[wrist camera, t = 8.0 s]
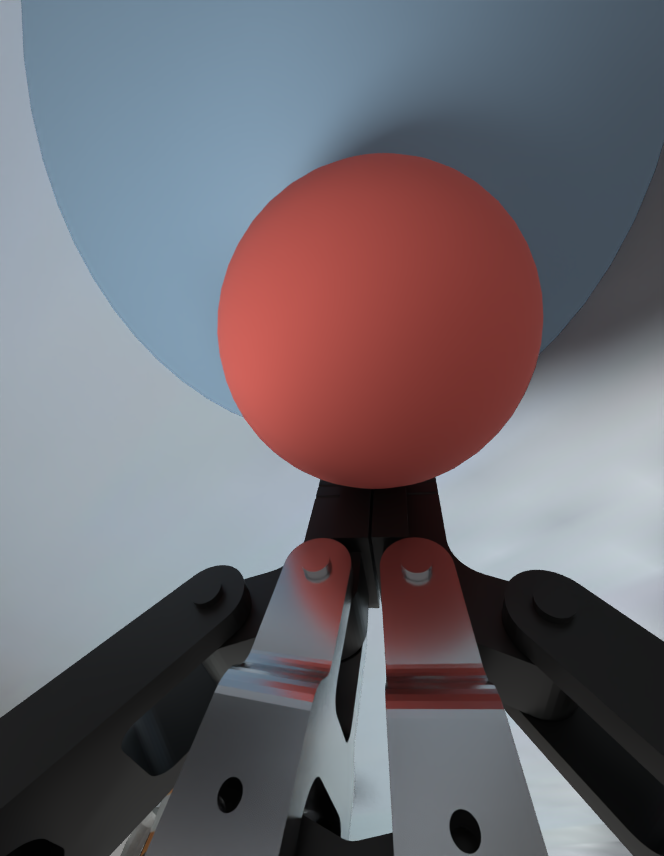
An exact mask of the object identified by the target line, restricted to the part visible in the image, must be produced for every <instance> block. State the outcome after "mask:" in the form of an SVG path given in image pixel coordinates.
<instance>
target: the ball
mask: <svg viewBox="0 0 664 856" xmlns="http://www.w3.org/2000/svg"><path fill="white" fill-rule="evenodd" d="M542 329H543V302H542V291H541V286H540V281H539V277H538V272H537V267H536V265H535V262H534V260H533V257H532V254H531V252H530V249H529V246H528V244H527V242H526V240H525V238H524V237H523V235H522V233H521V231H520V230H519V228H518V226H517V224H516V223H515V221H514V220H513V218H512V217H511V216H510V215H509V214H508V212H507V211H506V210H505V209H504V207H503V206H502V205H501V204H500V203H499V201H498V200H497V199H495V198H494V197H493V196H492V195H491V194H490V193H489V192H487V191H486V190H485V189H484V188H483V187H482V186H480V185H479V184H478V183H477V182H475V181H474V180H472V179H470V178H469V177H467V176H465V175H464V174H462V173H460V172H459V171H457V170H455V169H453V168H451V167H449V166H446V165H443V164H441V163H438V162H435V161H432V160H430V159H427V158H423V157H418V156H411V155H403V154H395V153H373V154H364V155H358V156H353V157H349V158H345V159H342V160H339V161H336V162H333V163H330V164H327V165H324V166H321V167H319V168H317V169H315V170H313V171H311V172H310V173H308V174H306V175H304V176H303V177H301V178H299V179H298V180H296V181H294V182H293V183H291V184H290V185H289V186H287V187H286V188H285V189H284V190H283V191H281V192H280V193H279V194H278V195H277V196H275V197H274V198H273V199H272V200H271V201H270V202H269V203H268V204H267V205H266V206H265V207H264V208H263V210H262V211H261V212H260V213H259V214H258V215H257V216H256V218H255V219H254V220H253V221H252V223H251V224H250V226H249V227H248V229H247V231H246V232H245V234H244V235H243V237H242V238H241V240H240V241H239V243H238V245H237V247H236V249H235V252H234V254H233V256H232V258H231V260H230V263H229V265H228V268H227V271H226V275H225V278H224V281H223V285H222V288H221V294H220V301H219V307H218V327H217V335H218V344H219V353H220V358H221V362H222V366H223V370H224V374H225V378H226V382H227V384H228V387H229V389H230V392H231V394H232V397H233V399H234V401H235V403H236V405H237V407H238V408H239V410H240V412H241V414H242V415H243V417H244V419H245V420H246V421H247V422H248V424H249V425H250V426H251V428H252V429H253V430H254V432H255V433H256V434H257V435H258V437H259V438H260V439H261V440H262V441H263V442H264V443H265V444H266V445H267V446H268V447H269V448H270V449H271V450H272V451H273V452H275V453H276V454H277V455H279V456H280V457H281V458H283V459H284V460H285V461H287V462H288V463H290V464H291V465H293V466H294V467H296V468H298V469H299V470H301V471H303V472H305V473H308V474H310V475H312V476H314V477H317V478H319V479H321V480H324V481H327V482H330V483H334V484H338V485H343V486H349V487H355V488H365V489H385V488H394V487H401V486H407V485H412V484H416V483H420V482H423V481H426V480H429V479H432V478H434V477H436V476H439V475H441V474H443V473H445V472H447V471H449V470H452V469H454V468H455V467H457V466H458V465H460V464H461V463H463V462H464V461H466V460H467V459H469V458H470V457H472V456H473V455H475V454H476V453H478V452H479V451H480V450H481V449H482V448H483V447H484V446H485V445H486V444H487V443H488V442H489V441H490V440H492V439H493V438H494V437H495V436H496V435H497V434H498V433H499V431H500V430H501V429H502V428H503V426H504V425H505V424H506V423H507V421H508V420H509V419H510V418H511V416H512V415H513V413H514V411H515V410H516V408H517V406H518V404H519V403H520V401H521V399H522V398H523V396H524V394H525V392H526V390H527V387H528V385H529V382H530V380H531V377H532V375H533V372H534V370H535V367H536V363H537V359H538V355H539V351H540V347H541V340H542Z"/></svg>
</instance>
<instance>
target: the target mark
mask: <svg viewBox="0 0 664 856" xmlns="http://www.w3.org/2000/svg"><path fill="white" fill-rule="evenodd" d="M21 4H22V27H23V49H24V61H25V68H26V76H27V83H28V90H29V97H30V104H31V111H32V115H33V120H34V124H35V128H36V133H37V137H38V141H39V145H40V150H41V154H42V158H43V162H44V165H45V168H46V171H47V174H48V177H49V180H50V183H51V186H52V189H53V192H54V195H55V198H56V201H57V204H58V206H59V209H60V211H61V213H62V216H63V218H64V220H65V223H66V225H67V227H68V230H69V232H70V234H71V237H72V239H73V241H74V244H75V245H76V247H77V249H78V251H79V253H80V255H81V257H82V258H83V260H84V262H85V264H86V266H87V268H88V270H89V271H90V273H91V275H92V277H93V279H94V280H95V282H96V283H97V285H98V286H99V288H100V289H101V291H102V292H103V294H104V296H105V297H106V299H107V300H108V302H109V303H110V305H111V306H112V308H113V309H114V311H115V312H116V313H117V314H118V316H119V317H120V318H121V319H122V321H123V322H124V323H125V324H126V326H127V327H128V328H129V329H130V331H131V332H132V333H133V334H134V336H135V337H136V338H137V339H138V340H139V341H140V342H141V343H142V344H143V345H144V346H145V347H146V348H147V349H148V350H149V351H150V352H151V353H152V354H153V356H154V357H155V358H156V359H157V360H158V361H159V362H161V363H162V364H163V365H164V366H165V367H166V368H168V369H169V370H170V371H171V372H172V373H173V374H175V375H176V376H177V377H178V378H179V379H180V380H182V381H183V382H184V383H186V384H187V385H189V386H190V387H191V388H193V389H194V390H196V391H197V392H199V393H200V394H201V395H203V396H204V397H206V398H207V399H209V400H211V401H213V402H214V403H216V404H218V405H220V406H222V407H223V408H225V409H227V410H229V411H230V412H233V413H235V414H237V415H239V416H242V417H243V415H242V414H241V412H240V410H239V408H238V407H237V405H236V403H235V401H234V399H233V397H232V394H231V392H230V389H229V387H228V384H227V382H226V378H225V374H224V370H223V366H222V362H221V358H220V353H219V344H218V335H217V327H218V307H219V301H220V294H221V288H222V285H223V281H224V278H225V275H226V271H227V268H228V265H229V263H230V260H231V258H232V256H233V254H234V252H235V249H236V247H237V245H238V243H239V241H240V240H241V238H242V237H243V235H244V234H245V232H246V231H247V229H248V227H249V226H250V224H251V223H252V221H253V220H254V219H255V218H256V216H257V215H258V214H259V213H260V212H261V211H262V210H263V208H264V207H265V206H266V205H267V204H268V203H269V202H270V201H271V200H272V199H273V198H274V197H275V196H277V195H278V194H279V193H280V192H281V191H283V190H284V189H285V188H286V187H287V186H289V185H290V184H291V183H293V182H294V181H296V180H298V179H299V178H301V177H303V176H304V175H306V174H308V173H310V172H311V171H313V170H315V169H317V168H319V167H321V166H324V165H327V164H330V163H333V162H336V161H339V160H342V159H345V158H349V157H353V156H358V155H364V154H373V153H395V154H403V155H411V156H418V157H423V158H427V159H430V160H432V161H435V162H438V163H441V164H443V165H446V166H449V167H451V168H453V169H455V170H457V171H459V172H460V173H462V174H464V175H465V176H467V177H469V178H470V179H472V180H474V181H475V182H477V183H478V184H479V185H480V186H482V187H483V188H484V189H485V190H486V191H487V192H489V193H490V194H491V195H492V196H493V197H494V198H495V199H497V200H498V201H499V203H500V204H501V205H502V206H503V207H504V209H505V210H506V211H507V212H508V214H509V215H510V216H511V217H512V218H513V220H514V221H515V223H516V224H517V226H518V228H519V230H520V231H521V233H522V235H523V237H524V238H525V240H526V242H527V244H528V246H529V249H530V252H531V254H532V257H533V260H534V262H535V265H536V267H537V272H538V277H539V281H540V286H541V291H542V302H543V329H542V340H541V347H540V351H539V354H540V353H541V352H542V351H543V350H544V349H545V348H546V347H547V346H548V345H549V344H550V343H551V342H552V341H553V340H554V339H555V338H556V337H557V336H558V335H559V334H560V332H561V331H562V330H563V329H564V328H565V326H566V325H567V324H568V323H569V322H570V320H571V319H572V318H573V317H574V316H575V314H576V313H577V312H578V311H579V310H580V308H581V307H582V306H583V305H584V304H585V302H586V301H587V299H588V298H589V296H590V295H591V293H592V292H593V290H594V289H595V287H596V286H597V284H598V283H599V281H600V280H601V278H602V277H603V275H604V274H605V272H606V271H607V270H608V268H609V267H610V265H611V263H612V261H613V259H614V258H615V256H616V254H617V252H618V250H619V248H620V246H621V245H622V243H623V241H624V239H625V237H626V235H627V233H628V232H629V230H630V228H631V226H632V224H633V222H634V220H635V218H636V215H637V213H638V211H639V208H640V206H641V203H642V201H643V199H644V196H645V194H646V191H647V189H648V186H649V184H650V182H651V179H652V177H653V174H654V172H655V169H656V166H657V163H658V159H659V156H660V153H661V149H662V146H663V143H664V0H21Z"/></svg>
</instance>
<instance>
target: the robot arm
mask: <svg viewBox="0 0 664 856" xmlns="http://www.w3.org/2000/svg"><path fill="white" fill-rule="evenodd" d="M380 596H381V602H382V612H383V628H384V644H385V660H386V685H385V698H386V720H387V738H388V756H389V773H390V791H391V809H392V827H393V833H389V834H385V835H381V836H376V837H372V838H368V839H364V840H359V841H349V835H350V826H351V817H352V808H353V798H354V782H355V766H354V749H355V738H356V729H357V721H358V713H359V705H360V697H361V689H362V681H363V673H364V665H365V657H366V649H367V625H368V608H379V599H380ZM504 709H505V710H504ZM505 711H506V712H507V713H508V714H509V716H510V717H511V718H512V719H513V720H514V721H515V722H516V724H517V725H518V726H519V727H520V728H521V729H522V730H523V731H524V733H525V734H526V735H527V736H528V737H529V738H530V739H531V741H532V742H533V743H534V744H535V745H536V746H537V747H538V748H539V750H540V751H541V752H542V753H543V754H544V755H545V756H546V758H547V759H548V760H549V761H550V762H551V763H552V764H553V765H554V767H555V768H556V769H557V770H558V771H559V772H560V773H561V774H562V776H563V777H564V778H565V779H566V780H567V781H568V782H569V784H570V785H571V786H572V787H573V788H574V789H575V790H576V791H577V793H578V794H579V795H580V796H581V797H582V798H583V799H584V801H585V802H586V803H587V804H588V805H589V806H590V807H591V808H592V810H593V811H594V812H595V813H596V814H597V815H598V816H599V817H600V819H601V820H602V821H603V822H604V823H605V824H606V825H607V827H608V828H609V829H610V830H611V831H612V832H613V833H614V834H615V836H616V837H617V838H618V839H619V840H620V841H621V842H622V844H623V845H624V846H625V847H626V848H627V849H628V850H629V851H630V853H631V854H632V855H633V856H664V641H662V640H661V639H659V638H658V637H656V636H655V635H653V634H652V633H650V632H649V631H647V630H646V629H644V628H643V627H641V626H640V625H639V624H637V623H636V622H634V621H633V620H631V619H630V618H628V617H627V616H625V615H624V614H622V613H621V612H619V611H618V610H616V609H615V608H614V607H612V606H611V605H609V604H608V603H606V602H605V601H603V600H602V599H600V598H599V597H597V596H596V595H594V594H593V593H591V592H590V591H589V590H587V589H586V588H584V587H583V586H581V585H580V584H578V583H576V582H575V581H573V580H572V579H570V578H567V577H565V576H563V575H560V574H557V573H555V572H550V571H545V570H529V571H524V572H521V573H519V574H517V575H516V576H514V577H513V578H512V579H511V580H510V581H506V580H502V579H499V578H495V577H492V576H488V575H485V574H482V573H479V572H476V571H474V570H472V569H470V568H469V567H467V566H465V565H464V564H463V563H461V562H460V561H459V560H458V559H457V558H456V557H455V556H454V555H453V553H452V552H451V550H450V548H449V546H448V544H447V540H446V534H445V529H444V523H443V517H442V512H441V506H440V500H439V495H438V489H437V483H436V478H435V477H434V478H432V479H429V480H426V481H423V482H420V483H416V484H412V485H407V486H401V487H394V488H385V489H365V488H355V487H349V486H343V485H338V484H334V483H330V482H327V481H324V480H321V479H320V483H319V487H318V491H317V494H316V499H315V502H314V506H313V510H312V514H311V517H310V521H309V525H308V529H307V533H306V537H305V541H304V543H302V544H301V545H299V546H298V547H296V548H295V549H294V550H293V551H292V552H291V553H290V554H289V556H288V557H287V559H286V561H285V564H284V566H283V567H281V568H279V569H277V570H274V571H271V572H268V573H264V574H261V575H257V576H254V577H250V578H247V579H243V576H242V575H241V573H240V572H239V571H238V570H237V569H236V568H233V567H231V566H226V565H220V566H214V567H210V568H208V569H205V570H203V571H201V572H199V573H198V574H196V575H195V576H193V577H192V578H191V579H189V580H188V581H187V582H185V583H184V584H182V585H181V586H180V587H178V588H177V589H176V590H174V591H173V592H172V593H170V594H169V595H167V596H166V597H165V598H163V599H162V600H161V601H159V602H158V603H157V604H155V605H154V606H152V607H151V608H150V609H148V610H147V611H146V612H144V613H143V614H141V615H140V616H139V617H137V618H136V619H135V620H133V621H132V622H131V623H129V624H128V625H126V626H125V627H124V628H122V629H121V630H120V631H118V632H117V633H116V634H114V635H113V636H111V637H110V638H109V639H107V640H106V641H105V642H103V643H102V644H101V645H99V646H98V647H96V648H95V649H94V650H92V651H91V652H90V653H88V654H87V655H86V656H84V657H83V658H81V659H80V660H79V661H77V662H76V663H75V664H73V665H72V666H71V667H69V668H68V669H66V670H65V671H64V672H62V673H61V674H60V675H58V676H57V677H56V678H54V679H53V680H51V681H50V682H49V683H47V684H46V685H45V686H43V687H42V688H41V689H39V690H38V691H36V692H35V693H34V694H32V695H31V696H30V697H28V698H27V699H26V700H24V701H23V702H21V703H20V704H19V705H17V706H16V707H15V708H13V709H12V710H11V711H9V712H8V713H6V714H5V715H4V716H2V717H1V718H0V856H109V855H111V853H112V852H113V851H114V850H115V849H116V848H117V847H118V846H119V845H120V844H121V843H122V842H123V841H124V840H125V839H126V838H127V837H128V836H129V835H130V833H131V832H132V831H133V830H134V829H135V828H136V827H137V826H138V825H139V824H140V823H141V822H142V821H143V820H144V819H145V818H146V817H147V816H148V815H149V813H150V812H151V811H152V810H153V809H154V808H155V807H156V806H157V805H158V804H159V803H160V802H161V801H162V800H163V799H164V798H165V797H166V796H167V795H168V793H169V792H170V791H171V790H172V789H173V790H172V793H171V795H170V797H169V800H168V802H167V804H166V807H165V809H164V811H163V814H162V816H161V818H160V821H159V823H158V825H157V828H156V830H155V832H154V835H153V837H152V839H151V842H150V844H149V846H148V849H147V851H146V852H145V853H144V854H143V855H142V856H548V853H547V850H546V846H545V843H544V840H543V836H542V833H541V830H540V826H539V823H538V820H537V816H536V813H535V810H534V806H533V803H532V800H531V796H530V793H529V790H528V786H527V783H526V780H525V776H524V773H523V770H522V766H521V763H520V760H519V756H518V753H517V750H516V746H515V743H514V739H513V736H512V733H511V729H510V726H509V723H508V719H507V716H506V713H505Z"/></svg>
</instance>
